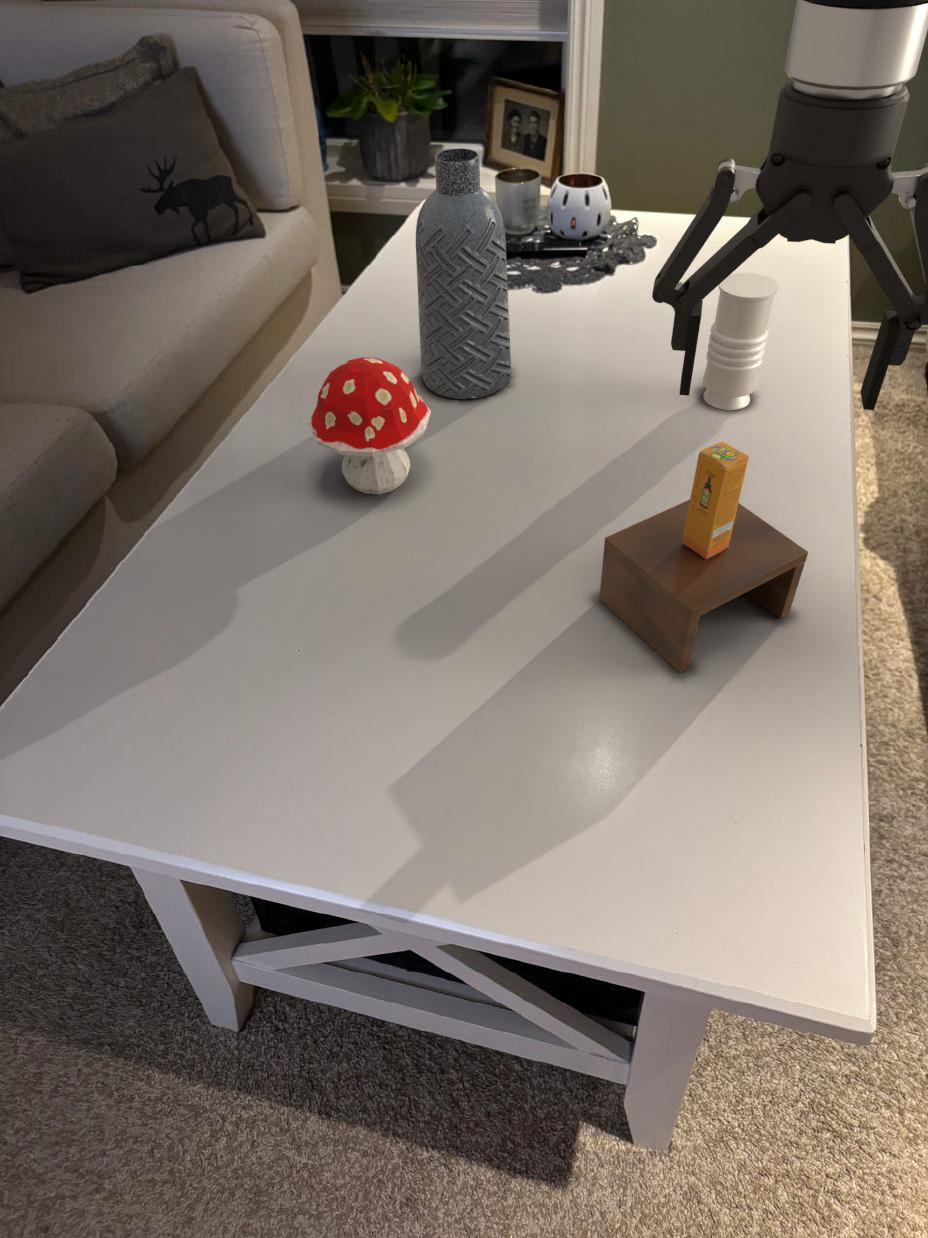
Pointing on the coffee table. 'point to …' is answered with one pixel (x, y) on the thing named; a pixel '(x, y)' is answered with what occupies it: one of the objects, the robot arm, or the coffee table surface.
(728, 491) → the supplement box
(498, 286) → the vase
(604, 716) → the coffee table surface
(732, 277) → the white ribbed cylinder
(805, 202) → the robot arm
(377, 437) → the decorative mushroom
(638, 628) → the shelf
